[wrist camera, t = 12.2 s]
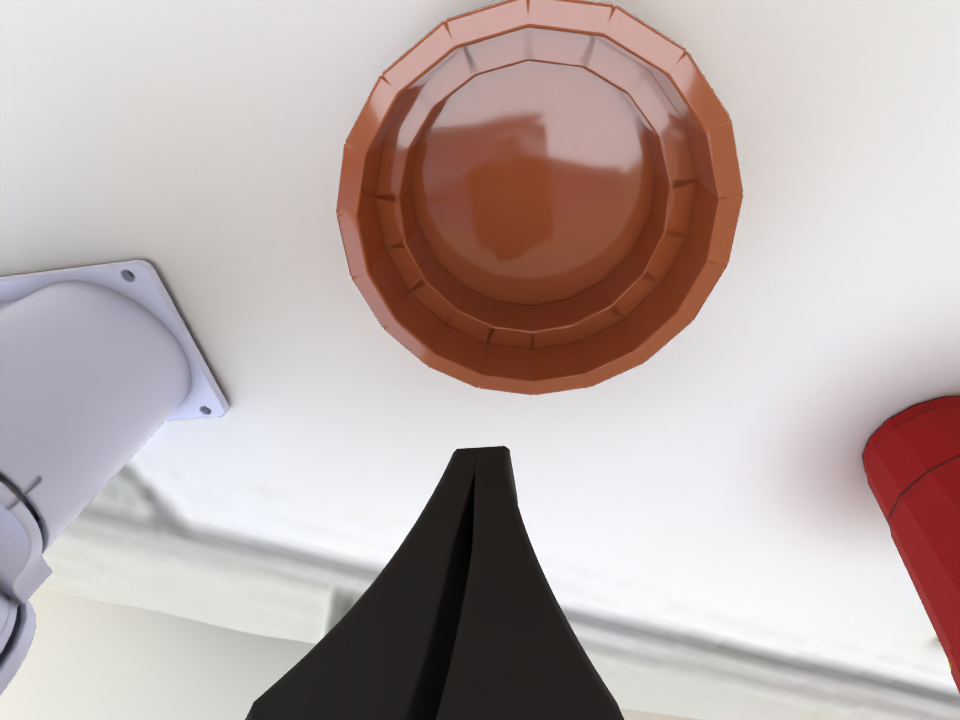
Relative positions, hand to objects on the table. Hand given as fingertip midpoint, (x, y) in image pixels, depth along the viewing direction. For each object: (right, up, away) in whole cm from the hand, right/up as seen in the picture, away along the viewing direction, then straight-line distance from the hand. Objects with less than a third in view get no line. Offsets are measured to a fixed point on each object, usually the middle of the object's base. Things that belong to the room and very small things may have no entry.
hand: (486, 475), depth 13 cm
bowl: (+2, +9, +5) cm, 10 cm away
